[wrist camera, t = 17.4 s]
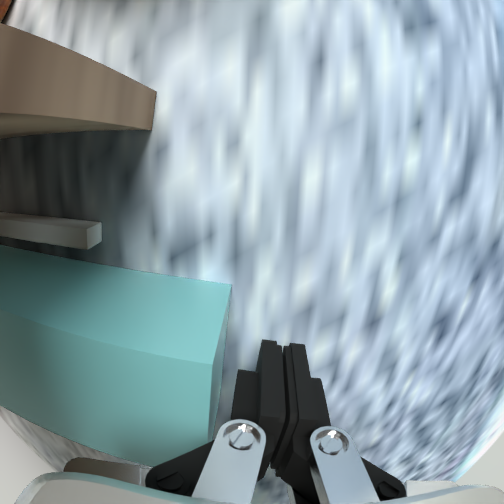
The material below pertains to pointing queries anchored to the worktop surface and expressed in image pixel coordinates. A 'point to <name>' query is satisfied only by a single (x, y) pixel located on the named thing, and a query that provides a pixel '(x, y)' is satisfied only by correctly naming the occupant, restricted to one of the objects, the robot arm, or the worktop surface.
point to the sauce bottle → (4, 8)
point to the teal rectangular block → (111, 354)
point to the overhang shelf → (62, 116)
